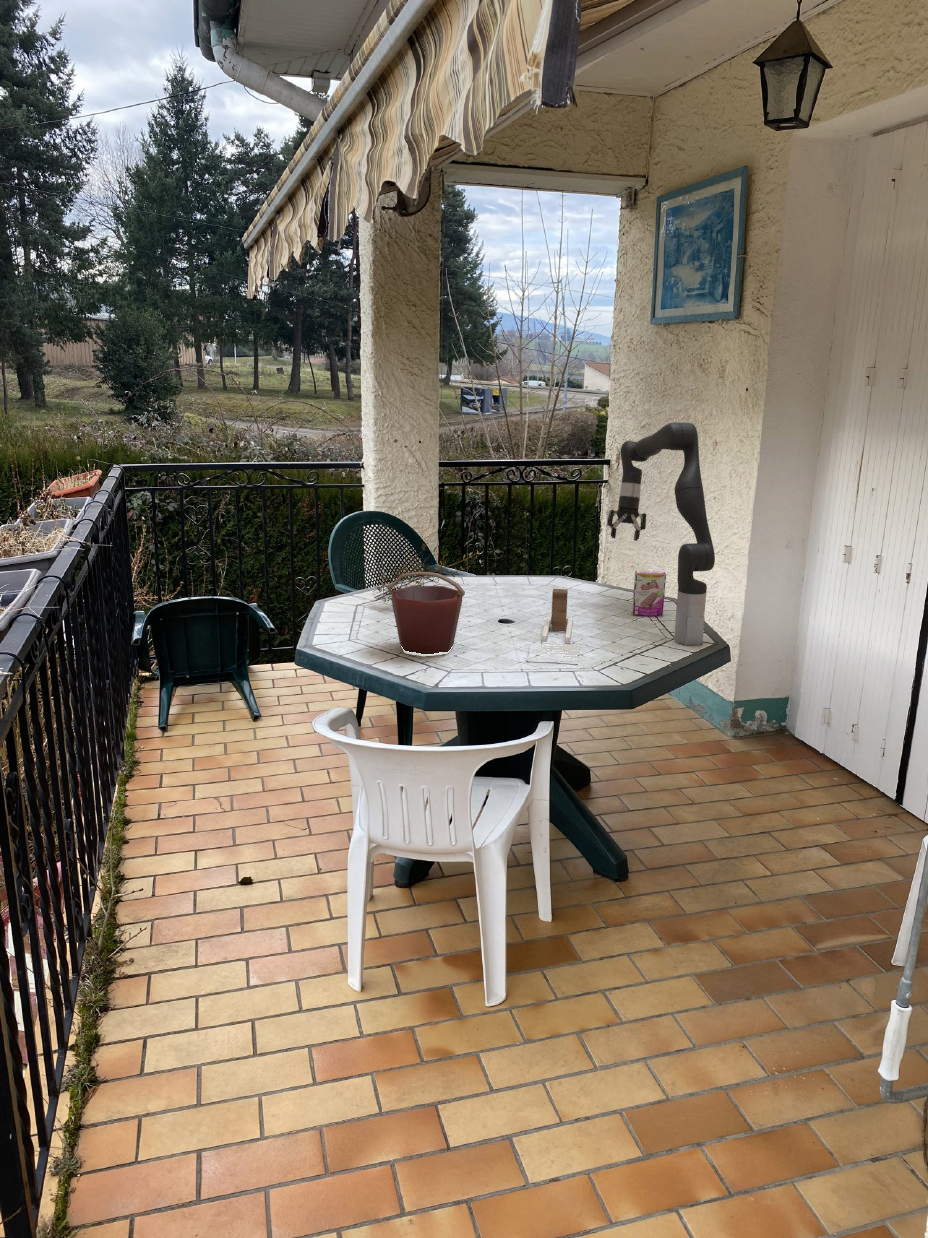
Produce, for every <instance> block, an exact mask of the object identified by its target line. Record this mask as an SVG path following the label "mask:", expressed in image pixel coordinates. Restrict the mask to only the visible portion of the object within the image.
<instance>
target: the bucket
mask: <svg viewBox="0 0 928 1238" xmlns="http://www.w3.org/2000/svg"><path fill="white" fill-rule="evenodd" d="M399 575H400V574H399ZM416 575H421V576H422V575H428V577H429V576H431V577H432V576H433V577H434V576H435V577H434V578H436V579H437V578H439V580H442V581H444V582H446V583H448V584H449V585H451V586H452V587H454V588H451V587H448V586H443V585H435V586H434V585H424V586H423V585H422V586H413V585H408V586H407V587H405V586H404V587H402V589H398V590H397V589H396V590H394V591H391V590H392V589H393V587H394V586H395V587H396V585H398V584H397V583H399V582H400V580H401V579H402V578H404V577H407V578H409V577H410V576H411V577H415V576H416ZM408 576H409V577H408ZM394 581H395V580H394ZM394 581H393V582H394ZM401 581H402V580H401ZM386 586H387V587H386V588H387V589H388V590H389V592H388V594H389V593H390V594H391V595H390V596H391V597H390V598H391V599H390V601H391V605H392V612H393V615H394V619H395V625H396V630H397V636H398V642H399V644H401V646H402V647H403V649H404V650H405V651H409V652H416V653H421V654H434V653H439V652H448V651H449V650H450V649H451V647H452V646H453V647H454V643H455V640H456V639H455V638H456V633H457V629H458V625H459V624H458V623H459V618H460V614H461V609H462V604H463V597H464V596H465V593H466V591H465V590H464V589H463V587H462V586H461V585H460V584H459V583H458V582H457V581H455V580H454V579H451V578H449V577H448V576H446V575H443V574H442V573H439V572H438V573H436V572H433V573H431V572H429V571H425V572H423V571H422V572H420V571H418V572H417V571H416V572H415V571H414V572H413V571H411V573H410V572H405V574H404V573H403V574H401V575H400V576H399V577H398V576H397V577H396V581H395V582H394V583H392V582H391V583H390V584H389V583H388V584H387V585H386ZM387 589H386V590H387ZM388 590H387V591H388ZM401 646H400V647H401ZM451 650H452V649H451Z"/></svg>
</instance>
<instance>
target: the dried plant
mask: <svg viewBox="0 0 928 1238" xmlns="http://www.w3.org/2000/svg"><path fill="white" fill-rule="evenodd" d="M427 545H429V541H425V544H424V543H422V546H423V547H421V548H422V551H420V553H422V552H423V551H426V547H427ZM436 549H437V547H434V548H433V550H432V551H433V552H432V553H434V552H435V550H436ZM445 551H446V553H445V554H443V555H442V552H440V553H441V555H442V560H439V562H438V563H437V564H436V566H439V568H438V567H434V568H432V566H431V565H426V566H425V563H426V561H427V560H428V559H429V557H427V558H426V559H424V561H423V563H419V562H420V560H421V559H422V557H420V558H419V556H412V557H411V556H409V557H408V563H409V564H408V565H407V563H406V562H407V560H405V562H404V564H403V562H402V561H400V563H401V566H402V568H401V566H399V567H398V568H399V569H398V568H396V567H397V565H396V564H395V565H394V567H393V571H392V572H391V574H390V575H388V576H386V577H385V576H384V575H382V583H381V586H380V587H379V586H377V585H376V589H375V590H372V594H374V593H375V595H376V594H378V595H376V596H374V597H373V599H372V601H373V600H374V601H375V602H376V601H380V600H381V599H382V601H384V602H383V604H385V603H386V602H387V603H389V602H390V600H391V594H390V593H389V590H388V589H387V588H385V587H387V586H388V585H389V584H392V583H394V582H395V581H396V579H397V578H398V577H399V576H400V575H402V574H406V572H409V573H412V572H426V570H427V572H431V573H436V572H438V573H440V574H442V575H443V574H446V570H444V569H445V568H446V569H447V568H449V567H450V566H454V565H456V564H459V563H462V562H468V561H469V560H468V559H471V560H475V559H474V558H473V556H475V555H478V556H481V554H482V553H480V551H478V550H477V552H476V553H474V554H472V552H470V553H469V555H468V556H469V557H467V558H466V554H464V555H463V557H462V560H460V561H458V562H455V563H452V564H449V565H446V564H447V561H444V562H443V560H445V555H448V554H449V552H450V551H451V550H450V551H449V552H447V548H446V550H445ZM409 559H412V560H409ZM417 559H418V562H417ZM414 561H415V562H414ZM413 562H414V563H415V564H416V565H415V564H414V563H413ZM465 564H466V565H467V563H465ZM409 565H410V566H411V567H410V568H409V569H410V570H409V569H408V568H407V567H408V566H409ZM412 566H413V567H412ZM421 566H423V567H421ZM468 566H469V565H468ZM468 566H467V567H465V568H463V567H462V566H460V567H459V568H460V570H457V568H456V567H454V570H455V572H451V571H450V569H448V570H447V571H448V572H449V573H450V572H451V573H450V574H446V575H445V577H448V576H449V575H451V576H452V577H453V579H455V578H456V577H455V574H456V575H457V576H459V573H458V572H459V571H463V570H466V569H467V568H469V570H471V568H470V567H468ZM431 569H432V570H431ZM441 570H442V571H441ZM390 577H391V578H390ZM394 579H395V580H394ZM405 580H406V581H407V580H408V582H407V583H405V584H404V581H405ZM424 580H425V581H426V582H425V581H424ZM436 581H437V582H440V578H437V577H435V576H428V575H414V576H408V577H403V578H402V579H401V580H400V581H399V582H398V583H397V584H396V585H395V586H394V587H393V588H392V589H391V591H394V590H398V589H402V588H405V587H408V586H425V584H429V583H430V582H431V583H433V586H436V585H435V584H437V582H436ZM411 583H412V585H410V584H411ZM434 583H435V584H434ZM399 585H400V586H399ZM381 588H382V589H381ZM376 591H377V592H376ZM381 592H383V593H381ZM379 593H381V594H379Z"/></svg>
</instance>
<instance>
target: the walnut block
mask: <svg viewBox="0 0 928 1238" xmlns="http://www.w3.org/2000/svg"><path fill="white" fill-rule="evenodd" d="M568 592H569V591H568V588H553V589H552V597H551V616H550V617H551V625H550V632H559V631H565V632H566V631H567V625H566V617H568V616H567V613H568V596H569V595H568V594H569V593H568Z"/></svg>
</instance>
